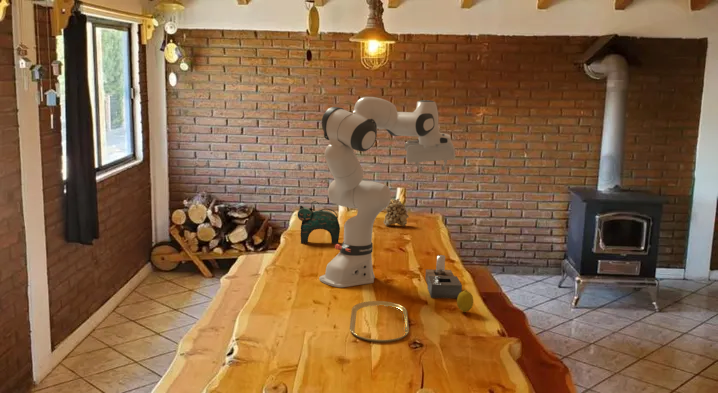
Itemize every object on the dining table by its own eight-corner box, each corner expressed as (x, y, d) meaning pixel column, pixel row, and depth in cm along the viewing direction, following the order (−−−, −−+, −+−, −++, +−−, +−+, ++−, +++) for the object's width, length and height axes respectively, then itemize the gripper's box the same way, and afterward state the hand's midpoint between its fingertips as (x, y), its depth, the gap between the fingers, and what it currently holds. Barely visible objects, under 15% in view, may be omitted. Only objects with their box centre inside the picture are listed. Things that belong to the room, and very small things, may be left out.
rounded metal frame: (348, 343, 208) (348, 338, 208) (353, 304, 242) (353, 299, 242) (409, 346, 207) (410, 341, 207) (405, 306, 242) (406, 302, 242)
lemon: (470, 309, 239) (472, 287, 238) (473, 315, 234) (475, 292, 232) (455, 309, 239) (456, 287, 238) (457, 315, 234) (459, 292, 232)
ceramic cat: (297, 243, 320) (297, 201, 316) (297, 240, 326) (298, 199, 322) (339, 244, 320) (340, 202, 317) (339, 241, 327) (340, 200, 323)
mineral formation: (382, 224, 365) (383, 196, 363) (407, 224, 366) (408, 197, 363) (384, 227, 358) (385, 199, 355) (409, 228, 358) (410, 200, 356)
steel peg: (439, 285, 265) (441, 257, 263) (433, 282, 268) (435, 255, 266) (445, 283, 268) (446, 256, 266) (439, 281, 270) (440, 254, 268)
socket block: (454, 287, 263) (454, 277, 262) (428, 287, 263) (428, 276, 262) (450, 279, 273) (450, 269, 272) (425, 279, 272) (425, 269, 272)
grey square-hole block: (461, 298, 251) (461, 285, 250) (431, 297, 250) (431, 284, 249) (456, 288, 261) (456, 276, 260) (427, 288, 261) (428, 275, 260)
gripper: (403, 142, 279) (406, 175, 284) (454, 138, 276) (456, 171, 280) (404, 138, 285) (407, 170, 290) (453, 134, 282) (456, 167, 286)
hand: (432, 170), depth 285 cm, fingers open, 8 cm apart
